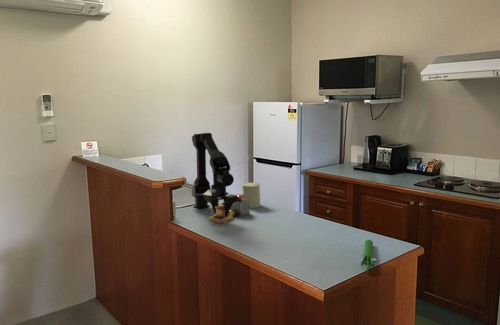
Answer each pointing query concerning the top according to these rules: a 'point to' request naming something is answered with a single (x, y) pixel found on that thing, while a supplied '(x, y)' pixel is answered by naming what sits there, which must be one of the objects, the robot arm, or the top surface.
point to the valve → (240, 207)
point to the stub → (220, 211)
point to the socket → (214, 219)
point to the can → (252, 194)
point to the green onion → (368, 254)
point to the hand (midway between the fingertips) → (220, 214)
